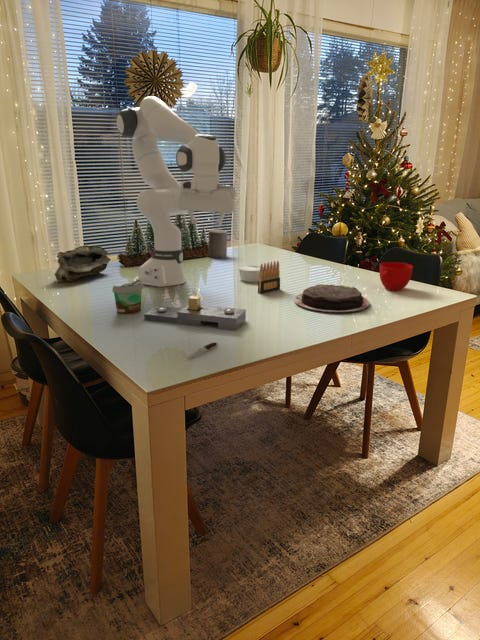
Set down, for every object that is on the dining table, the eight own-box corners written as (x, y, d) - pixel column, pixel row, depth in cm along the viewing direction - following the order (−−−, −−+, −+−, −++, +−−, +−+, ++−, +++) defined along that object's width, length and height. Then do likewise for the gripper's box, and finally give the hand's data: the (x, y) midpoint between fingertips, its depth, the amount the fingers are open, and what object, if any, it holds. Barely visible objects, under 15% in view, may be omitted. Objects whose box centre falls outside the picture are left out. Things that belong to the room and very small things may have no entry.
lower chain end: (144, 319, 165) (143, 311, 164) (158, 311, 174) (157, 303, 173) (200, 326, 159) (200, 317, 158) (211, 317, 168) (211, 308, 167)
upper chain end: (177, 323, 161) (177, 309, 160) (189, 314, 170) (189, 300, 169) (236, 330, 156) (236, 315, 154) (245, 321, 165) (245, 306, 163)
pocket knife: (216, 346, 144) (216, 339, 143) (218, 347, 143) (218, 340, 143) (185, 361, 133) (185, 354, 133) (187, 362, 133) (187, 355, 132)
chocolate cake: (291, 293, 200) (291, 277, 198) (360, 294, 199) (362, 278, 197) (296, 314, 173) (297, 296, 171) (377, 316, 172) (379, 298, 170)
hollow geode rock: (107, 280, 233) (90, 255, 235) (120, 264, 225) (103, 238, 227) (57, 292, 210) (39, 263, 212) (70, 274, 203) (51, 245, 205)
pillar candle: (206, 258, 261) (206, 229, 256) (210, 254, 270) (211, 226, 266) (224, 259, 260) (225, 230, 255) (228, 255, 269) (228, 227, 264)
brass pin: (188, 321, 164) (188, 298, 161) (192, 318, 167) (191, 295, 164) (197, 322, 163) (196, 298, 160) (200, 319, 166) (200, 296, 163)
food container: (127, 317, 167) (125, 288, 164) (114, 314, 170) (111, 286, 167) (151, 308, 177) (150, 281, 174) (139, 305, 180) (137, 278, 177)
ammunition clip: (260, 293, 197) (261, 264, 193) (257, 292, 198) (258, 263, 194) (280, 289, 203) (281, 260, 199) (277, 288, 204) (278, 259, 201)
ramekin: (265, 277, 223) (265, 265, 221) (263, 283, 213) (263, 271, 211) (240, 276, 224) (240, 264, 223) (237, 282, 214) (237, 270, 212)
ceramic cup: (366, 290, 203) (369, 266, 199) (386, 283, 214) (389, 260, 211) (396, 297, 194) (399, 272, 191) (415, 289, 206) (418, 265, 203)
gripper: (237, 184, 172) (237, 225, 176) (183, 182, 178) (183, 221, 182) (232, 186, 166) (231, 227, 171) (175, 183, 172) (176, 223, 176)
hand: (206, 224), depth 176 cm, fingers open, 8 cm apart
